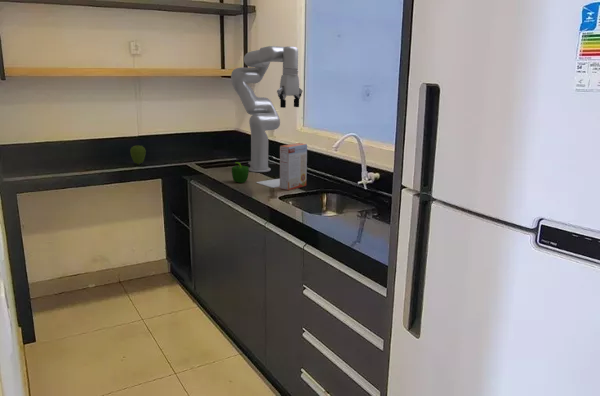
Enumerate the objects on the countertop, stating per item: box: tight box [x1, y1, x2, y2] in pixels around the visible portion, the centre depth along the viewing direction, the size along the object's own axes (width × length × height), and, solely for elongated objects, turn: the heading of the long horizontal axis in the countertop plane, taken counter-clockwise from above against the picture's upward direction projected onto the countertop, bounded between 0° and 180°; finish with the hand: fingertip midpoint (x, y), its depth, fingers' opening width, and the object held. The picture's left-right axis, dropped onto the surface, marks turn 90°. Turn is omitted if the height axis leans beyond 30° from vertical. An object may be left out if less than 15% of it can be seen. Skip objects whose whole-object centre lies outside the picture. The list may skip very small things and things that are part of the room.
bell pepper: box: [231, 161, 250, 184], centre depth 255 cm, size 8×8×10 cm
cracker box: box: [279, 142, 308, 191], centre depth 245 cm, size 14×6×21 cm, turn 141°
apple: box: [129, 144, 147, 165], centre depth 291 cm, size 9×8×12 cm
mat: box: [255, 178, 280, 189], centre depth 255 cm, size 14×18×1 cm
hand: (289, 107), depth 258 cm, fingers open, 9 cm apart
